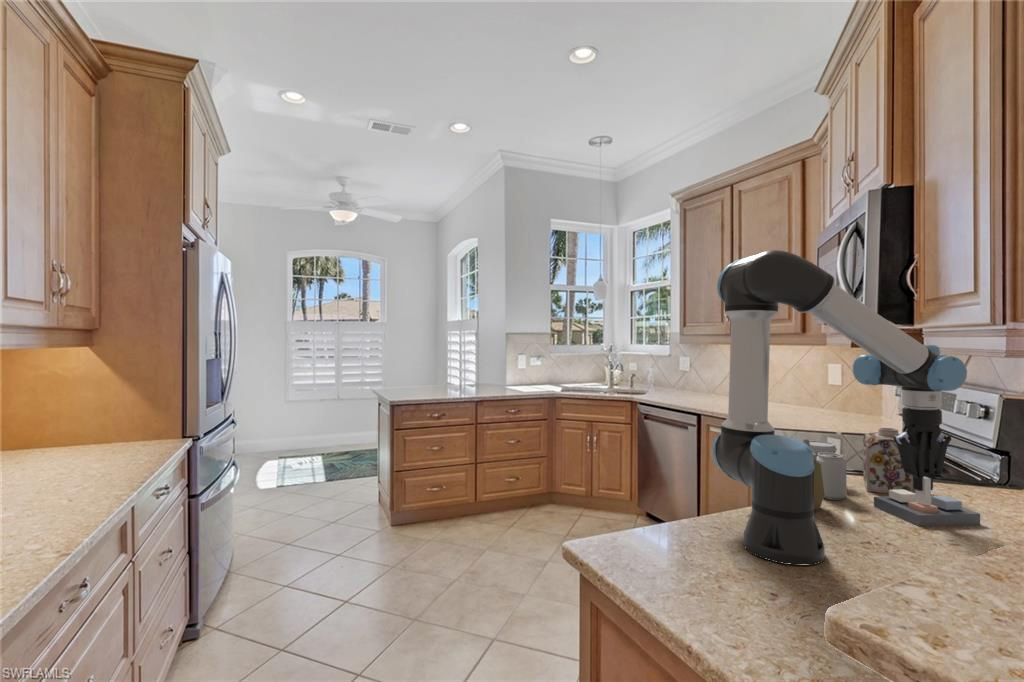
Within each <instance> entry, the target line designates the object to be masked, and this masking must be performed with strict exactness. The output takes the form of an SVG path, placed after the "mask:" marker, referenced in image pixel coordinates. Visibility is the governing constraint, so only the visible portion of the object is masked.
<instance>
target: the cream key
mask: <svg viewBox="0 0 1024 682" xmlns="http://www.w3.org/2000/svg"><path fill="white" fill-rule="evenodd" d="M888 496H889V498H892V499H894V500H897V501H898V503H899V504H908V502H916V494H915V493H912V492H910V491H907V490H904V489H898V490H889V494H888Z"/></svg>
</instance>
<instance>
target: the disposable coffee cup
mask: <svg viewBox="0 0 1024 682" xmlns="http://www.w3.org/2000/svg"><path fill="white" fill-rule="evenodd" d="M809 443H810V447H811V450H812V452H813V453H816V454H817V456H818V453H821V452H828V453H836V452H837V450H838V448H837V447H836V444H835V443H833V442H828V441H821V440H809Z"/></svg>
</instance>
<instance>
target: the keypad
mask: <svg viewBox="0 0 1024 682" xmlns="http://www.w3.org/2000/svg"><path fill="white" fill-rule="evenodd" d="M931 505H932V504H931ZM873 507H874V508H877V509H879V510H881V511H883V512H885V513H888V514H891V515H892V516H894V517H896V518H897V517H898V518H900V519H901V520H904V521H906V522H909V523H911V524H913V525H916V526H918V527H935V526H936V527H940V526H941V527H942V526H943V527H944V526H976V525H977V526H980V525H981V513H979V512H977V511H973V510H971V509H968V508H965V507H963V506H962V509H961V510H952V512H944V511H942V510H941V508H940V507H938V512H931V513H921V512H919V511H916V510H914V509H911V508H909V507H908V504H899V503H898V501H897V500H894V499H892V498H889V495H888V496H887V495H886V496H883V495H882V496H873Z"/></svg>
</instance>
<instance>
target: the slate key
mask: <svg viewBox="0 0 1024 682" xmlns="http://www.w3.org/2000/svg"><path fill="white" fill-rule="evenodd" d="M931 504H932V505H934V506H937V507H940V508H941V510H942V511H944V512H952V510H961V509H962V507H963V501H962V500H960V499H957V498H954V497H951V496H948V495H941V496H939V495H936V496H934V495H933V496H932V495H931Z"/></svg>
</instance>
